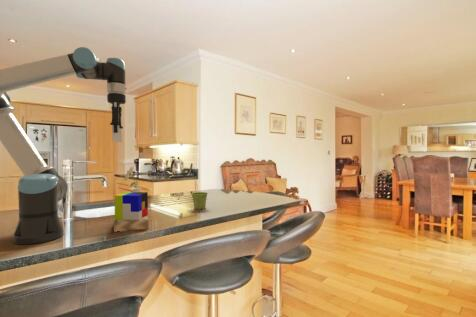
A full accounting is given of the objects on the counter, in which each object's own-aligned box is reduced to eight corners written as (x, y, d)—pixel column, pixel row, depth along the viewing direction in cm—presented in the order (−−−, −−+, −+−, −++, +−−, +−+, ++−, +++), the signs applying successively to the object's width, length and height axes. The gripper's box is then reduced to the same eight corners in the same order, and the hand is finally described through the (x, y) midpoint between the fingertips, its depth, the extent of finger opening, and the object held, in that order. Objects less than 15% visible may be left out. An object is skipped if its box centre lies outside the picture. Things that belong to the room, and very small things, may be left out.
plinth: (114, 232, 108) (113, 222, 108) (116, 224, 121) (116, 215, 121) (148, 228, 113) (148, 219, 113) (147, 221, 125) (147, 212, 125)
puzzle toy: (138, 219, 112) (138, 195, 111) (114, 219, 112) (114, 195, 112) (147, 214, 122) (147, 192, 121) (125, 214, 122) (125, 192, 122)
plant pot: (188, 209, 152) (188, 194, 152) (196, 206, 161) (196, 191, 161) (203, 210, 149) (203, 194, 149) (210, 207, 158) (210, 192, 158)
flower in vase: (134, 212, 146) (133, 165, 145) (152, 213, 143) (152, 165, 142) (117, 217, 133) (116, 166, 133) (137, 219, 130) (136, 166, 130)
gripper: (123, 88, 112) (124, 140, 112) (126, 100, 135) (127, 142, 136) (103, 87, 109) (104, 139, 110) (110, 99, 133) (111, 142, 133)
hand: (117, 141), depth 123 cm, fingers open, 13 cm apart
